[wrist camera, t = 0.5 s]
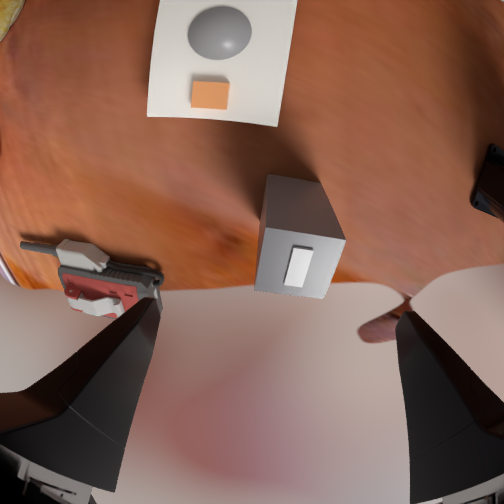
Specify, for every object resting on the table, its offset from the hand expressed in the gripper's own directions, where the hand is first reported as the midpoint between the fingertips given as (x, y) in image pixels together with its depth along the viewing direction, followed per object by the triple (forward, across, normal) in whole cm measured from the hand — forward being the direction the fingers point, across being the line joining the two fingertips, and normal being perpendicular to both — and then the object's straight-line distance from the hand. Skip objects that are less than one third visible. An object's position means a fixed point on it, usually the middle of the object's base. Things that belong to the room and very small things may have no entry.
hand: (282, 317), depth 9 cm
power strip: (+13, +3, -18) cm, 22 cm away
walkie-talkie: (+13, +20, +10) cm, 26 cm away
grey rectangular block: (+13, -1, +2) cm, 13 cm away
